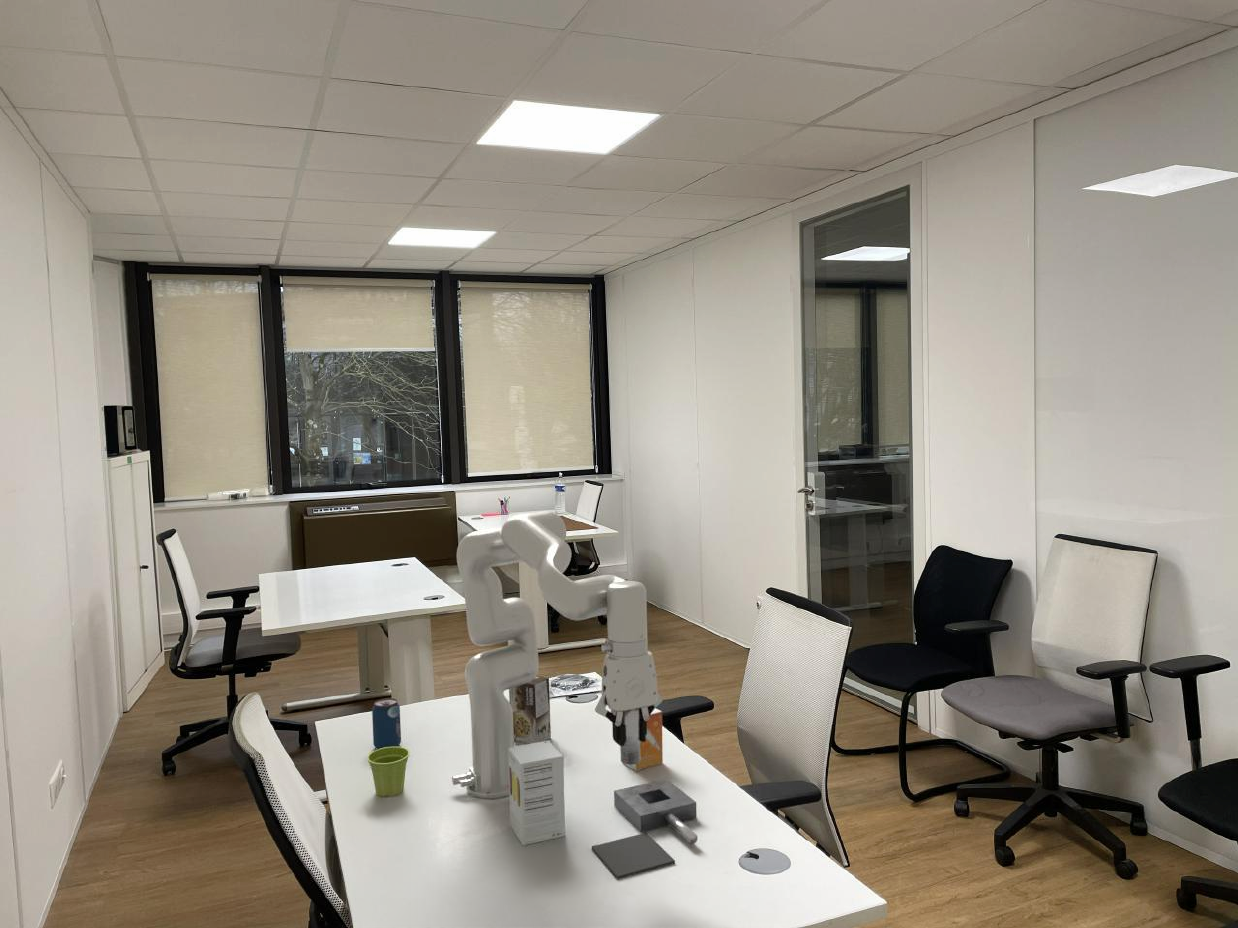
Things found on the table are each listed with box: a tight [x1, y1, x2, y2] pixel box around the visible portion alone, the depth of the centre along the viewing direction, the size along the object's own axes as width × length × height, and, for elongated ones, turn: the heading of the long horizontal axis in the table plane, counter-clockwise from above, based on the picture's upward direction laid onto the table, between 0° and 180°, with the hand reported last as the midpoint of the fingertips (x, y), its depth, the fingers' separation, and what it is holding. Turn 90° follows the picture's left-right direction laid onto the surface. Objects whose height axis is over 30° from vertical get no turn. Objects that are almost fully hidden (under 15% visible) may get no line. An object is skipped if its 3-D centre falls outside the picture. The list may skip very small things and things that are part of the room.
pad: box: [591, 832, 676, 880], centre depth 163 cm, size 12×12×1 cm
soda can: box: [371, 697, 402, 750], centre depth 220 cm, size 7×7×12 cm
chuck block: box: [613, 778, 698, 845], centre depth 176 cm, size 13×23×4 cm, turn 25°
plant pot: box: [366, 746, 411, 798], centre depth 194 cm, size 9×9×9 cm
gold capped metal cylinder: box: [619, 708, 641, 765], centre depth 162 cm, size 4×4×13 cm
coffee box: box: [508, 675, 552, 744], centre depth 224 cm, size 9×6×16 cm
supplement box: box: [508, 740, 566, 846], centre depth 174 cm, size 10×9×17 cm
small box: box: [624, 707, 664, 772], centre depth 206 cm, size 8×6×13 cm
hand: (630, 740), depth 162 cm, fingers closed on gold capped metal cylinder, 3 cm apart
